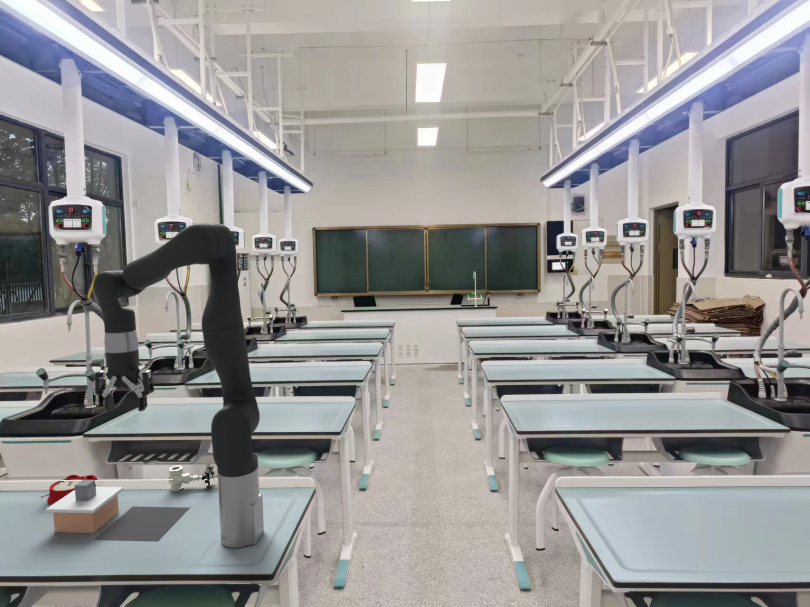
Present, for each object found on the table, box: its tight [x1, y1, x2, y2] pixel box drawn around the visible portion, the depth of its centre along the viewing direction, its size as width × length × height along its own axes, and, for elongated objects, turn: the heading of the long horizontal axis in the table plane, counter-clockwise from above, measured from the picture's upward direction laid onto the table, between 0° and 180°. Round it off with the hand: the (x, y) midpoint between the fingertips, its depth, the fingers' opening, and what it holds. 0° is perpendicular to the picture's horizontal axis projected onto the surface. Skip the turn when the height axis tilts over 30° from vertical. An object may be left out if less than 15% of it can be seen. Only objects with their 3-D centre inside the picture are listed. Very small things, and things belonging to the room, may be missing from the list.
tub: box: [52, 494, 120, 534], centre depth 131 cm, size 10×10×6 cm
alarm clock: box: [40, 474, 99, 506], centre depth 147 cm, size 10×6×15 cm
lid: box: [45, 480, 124, 513], centre depth 130 cm, size 12×12×5 cm
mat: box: [93, 505, 191, 542], centre depth 130 cm, size 16×16×1 cm
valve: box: [168, 465, 215, 492], centre depth 149 cm, size 7×7×12 cm
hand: (126, 410), depth 132 cm, fingers open, 8 cm apart
